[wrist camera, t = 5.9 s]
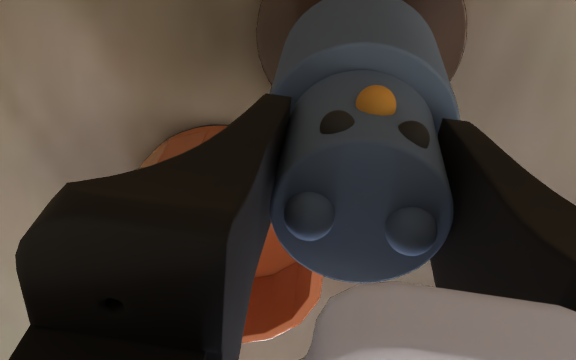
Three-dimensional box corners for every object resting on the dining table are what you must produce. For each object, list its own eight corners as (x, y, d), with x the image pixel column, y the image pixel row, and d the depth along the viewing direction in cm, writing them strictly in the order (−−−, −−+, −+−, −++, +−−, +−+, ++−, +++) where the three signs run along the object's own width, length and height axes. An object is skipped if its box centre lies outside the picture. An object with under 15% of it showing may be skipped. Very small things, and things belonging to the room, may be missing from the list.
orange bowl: (363, 179, 23) (364, 243, 19) (276, 300, 27) (265, 368, 24) (173, 89, 21) (140, 142, 18) (116, 234, 26) (81, 296, 23)
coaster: (510, -8, 18) (513, -4, 17) (391, 154, 22) (392, 160, 21) (316, -120, 17) (315, -118, 16) (228, 74, 20) (225, 79, 20)
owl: (458, 1, 15) (534, 149, 9) (416, 145, 18) (452, 340, 11) (289, -22, 15) (240, 108, 9) (274, 125, 18) (228, 306, 12)
